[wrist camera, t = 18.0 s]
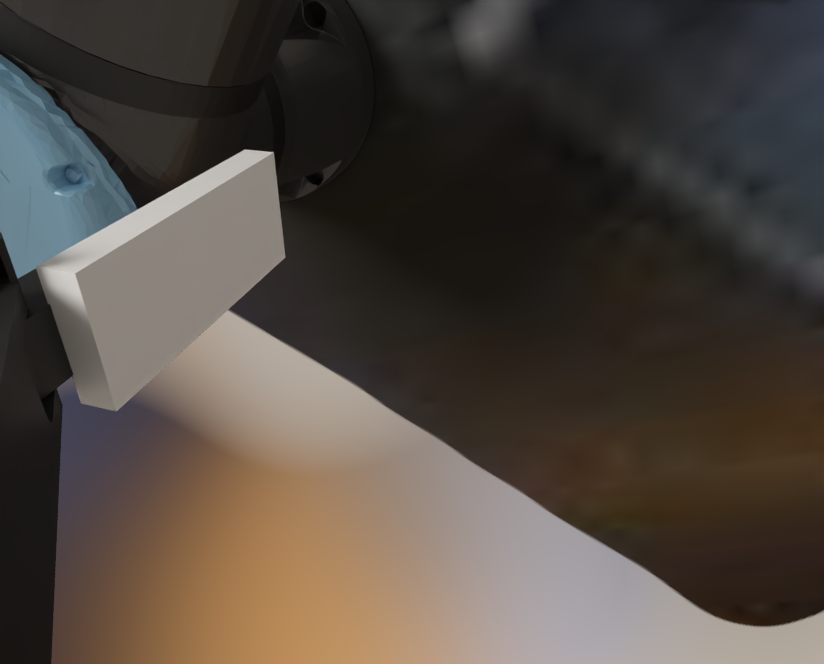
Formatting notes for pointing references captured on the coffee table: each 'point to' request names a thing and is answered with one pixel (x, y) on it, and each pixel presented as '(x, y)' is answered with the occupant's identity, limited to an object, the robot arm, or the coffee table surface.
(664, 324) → the coffee table surface
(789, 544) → the coffee table surface
